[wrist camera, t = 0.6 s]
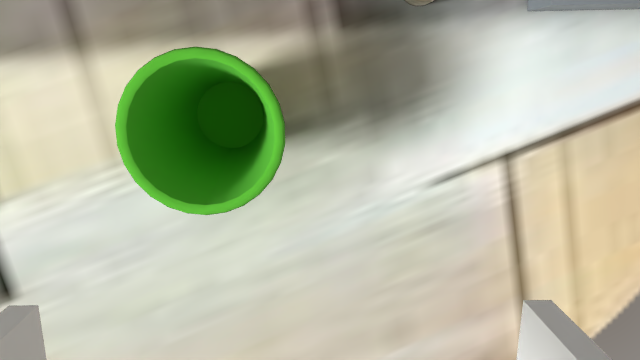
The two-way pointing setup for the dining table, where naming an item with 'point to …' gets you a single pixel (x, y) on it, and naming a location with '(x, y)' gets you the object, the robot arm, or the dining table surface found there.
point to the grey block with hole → (581, 5)
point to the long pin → (418, 2)
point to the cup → (200, 130)
